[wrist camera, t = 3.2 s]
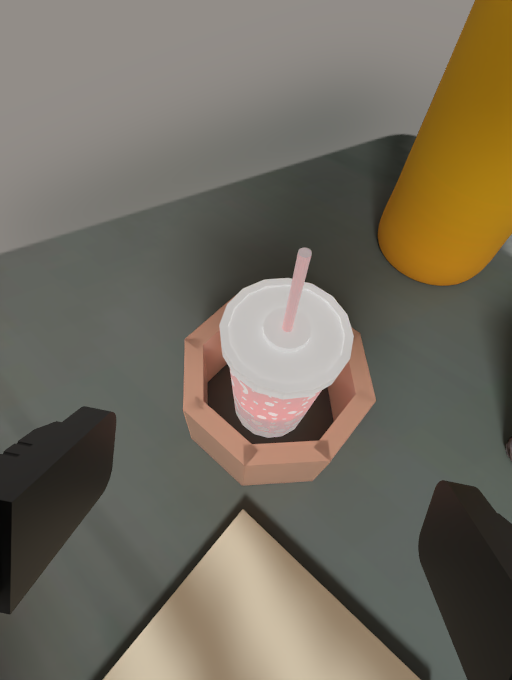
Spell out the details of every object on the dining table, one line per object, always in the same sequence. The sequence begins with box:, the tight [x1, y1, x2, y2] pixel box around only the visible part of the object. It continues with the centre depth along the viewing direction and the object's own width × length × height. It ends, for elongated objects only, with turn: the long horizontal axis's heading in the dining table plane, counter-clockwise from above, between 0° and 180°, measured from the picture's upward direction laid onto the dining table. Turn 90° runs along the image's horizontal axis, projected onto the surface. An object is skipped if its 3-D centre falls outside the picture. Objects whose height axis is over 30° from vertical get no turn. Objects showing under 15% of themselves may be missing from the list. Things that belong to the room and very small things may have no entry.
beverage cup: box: [219, 248, 354, 438], centre depth 19 cm, size 6×6×14 cm
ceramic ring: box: [183, 295, 376, 486], centre depth 23 cm, size 10×10×5 cm
